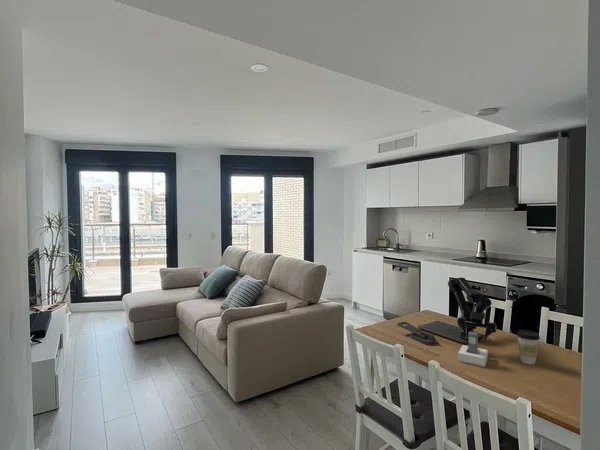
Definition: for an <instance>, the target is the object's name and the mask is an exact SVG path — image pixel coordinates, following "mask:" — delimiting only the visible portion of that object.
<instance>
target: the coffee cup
mask: <svg viewBox="0 0 600 450" xmlns="http://www.w3.org/2000/svg"><path fill="white" fill-rule="evenodd" d="M516 336H517V344H518V345H517V346H518V351H519V356H520V358H519V359H520V362H522V364H525V365H535V364H536V361H537V357H538V350H539V341H540V339H541V337H540V335H539V333H538V332H536V331H533V330H530V329H529V330H528V329H520V330H518V331H517V333H516Z"/></svg>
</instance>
